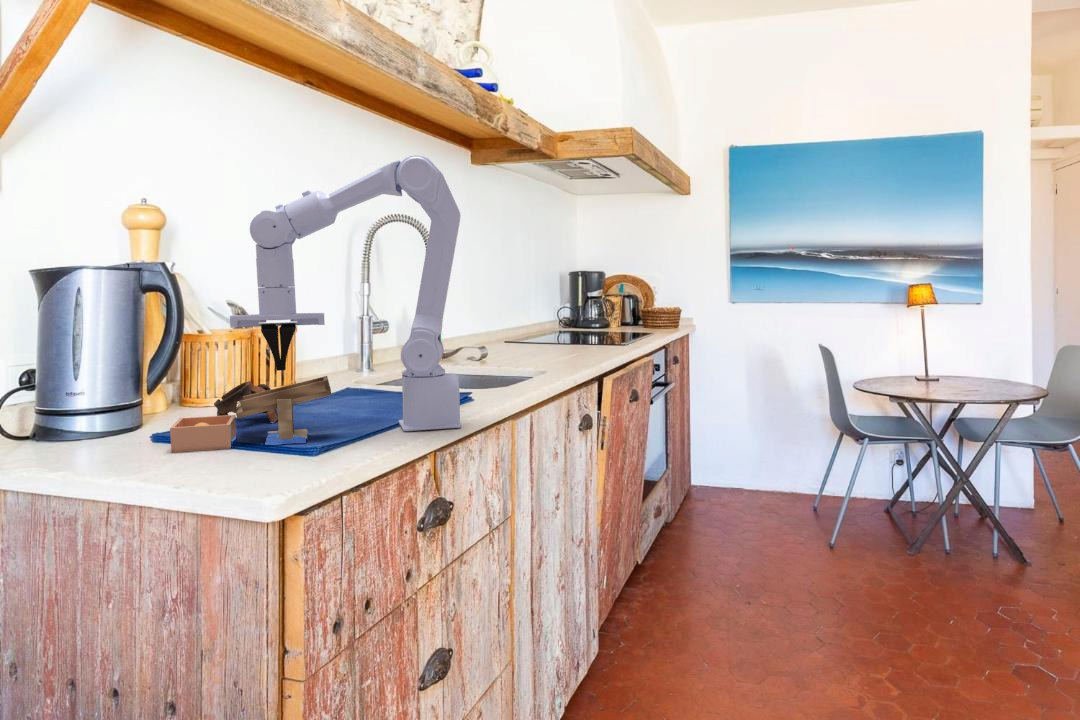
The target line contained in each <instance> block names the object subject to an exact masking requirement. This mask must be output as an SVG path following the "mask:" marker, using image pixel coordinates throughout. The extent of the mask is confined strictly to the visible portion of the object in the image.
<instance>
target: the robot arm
mask: <svg viewBox="0 0 1080 720" xmlns="http://www.w3.org/2000/svg"><path fill="white" fill-rule="evenodd" d="M403 191H404V192H405V193H406V194H407V195H408V196H409V197H410V198H411V199H412V200H414V201H415V202H416V203H418V204H419V205H420V206H421V208H422V209H423V211H424V212H425V213H426V214H427V216H428V217H429V218H430V226H429V232H428V239H427V243H426V250H425V256H424V261H423V268H422V274H421V278H420V279H421V280H420V285H419V291H418V296H417V302H416V308H415V315H414V318H413V321H412V325H411V329H410V334H409V337H408V339H407V340H406V342H405V343H404V344H403V346H402V349H401V351H400V358H401V359H400V360H401V363H402V365H403V366H404V368H405V370H402V371H401V387H402V388H401V391H402V419H398V424H399V426H400V427H401V429H402V430H403V432H414V431H415V432H416V431H428V430H430V431H431V430H444V429H459V428H461V427H462V424H461V405H460V404H461V403H460V402H461V401H460V399H461V398H460V395H461V394H460V383H459V377H458V375H457V373H452V372H451V373H450V372H449V373H446V369H445V368H443V366H442V365H441V364H440V362H441V360H442V359H443V356H444V350H445V349H444V344H443V342H442V332H443V321H444V313H445V309H446V302H447V297H448V291H449V285H450V279H451V274H452V270H453V269H452V268H453V263H454V258H455V251H456V247H457V246H456V245H457V242H458V241H457V240H458V235H459V227H460V223H461V211H460V209H459V207H458V204H457V202H456V200H455V198H454V195H453V194H452V191H451V188H450V187H449V185H448V183H447V181H446V179H445V176H444V173H443V172H442V171H441V170H440V169H439V168H438V167H437V165H435V163H434V162H432V161H431V160H430V158H428V157H426V156H425V155H420V154H411V155H409V156H407V157H404V159H403V160H400V159H399V160H395V161H393V162H390V163H387V164H385V165H383V166H381V167H379V168H376V169H375V170H373V171H371V172H369V173H367V174H366V175H363V176H362V177H359V178H358V179H356V180H353V181H352V182H350V183H348V184H345V185H343V186H342V187H340V188H338V189H337V190H335V191H331V192H330V193H329V194H327V193H325V192H323V191H319V190H316V191H313V192H312V191H311V190H309V189H307V190H306V191H303V192H301V195H302V197H300V198H298V199H296V200H293V201H291V202H288V203H287V204H285V205H283V204H281V203H280V204H277V205H275V207H274V208H275V211H273V210H268V209H265V210H262V211H260V213H258V214H256V215H255V216H254V217H253V219H251V222H250V224H249V234H250V237H251V238H252V240H253V241H254V242H255V254H256V259H255V263H256V265H255V266H256V281H257V282H256V283H257V295H258V296H257V297H258V310H259V311H258V313H257V314H233V315H230V316H229V326H230V328H231V329H233V328H234V329H235V328H253V327H254V328H255V327H257V328H258V327H260V332H261V334H262V335H263V338H264V339H265V342H266V344H267V345H268V347H269V350H270V351H271V354H272V358H273V361H274V365H275V371H277V372H278V371H286V369H287V368H286V364H287V357H288V352H289V348H290V345H291V342H292V339H293V337H294V334H295V332H296V330H297V326H313V325H315V326H324V325H326V324H325V312H306V313H305V312H304V313H303V312H297V305H296V304H297V302H296V287H295V286H296V285H295V284H296V282H295V265H294V256H293V244H294V243H295V242H296V240H301V239H303V238H305V237H307V236H310V235H312V234H315V232H318V231H320V230H323V229H324V228H327V227H330V226H331V225H333V224H335V222H336V219H337V216H338V214H339V213H341V212H343V211H345V210H348V209H350V208H353V207H355V206H357V205H359V204H362V203H365V202H366V201H369V200H372V199H374V198H376V197H379V196H381V195H388V196H394V197H403ZM286 320H287V321H288V320H290V321H289V322H267V321H286ZM279 341H280V342H279Z"/></svg>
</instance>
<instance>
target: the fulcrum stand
mask: <svg viewBox="0 0 1080 720" xmlns="http://www.w3.org/2000/svg"><path fill="white" fill-rule="evenodd" d="M276 410H277V413H278V420H277V425H278V428H277V429H278V430H274V431H273V430H271V431H267V433H278V434H279V439H293V435H294V436H295V435H296V436H300V437H301V436H302V437H305V438H307V439H308V428H304V429H295V423H294V421H295V419H294V417H295V416H294V404H293V405H291V399H278V400H277V409H276Z"/></svg>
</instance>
